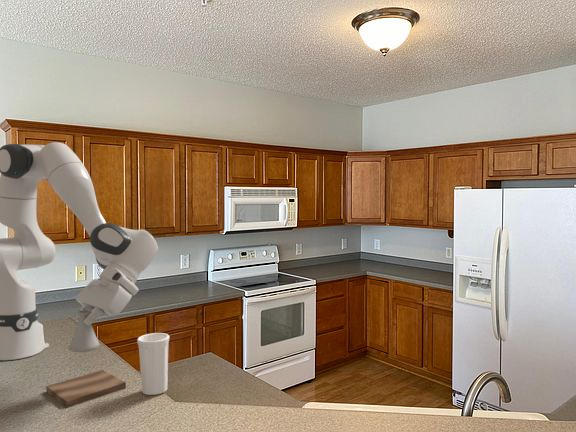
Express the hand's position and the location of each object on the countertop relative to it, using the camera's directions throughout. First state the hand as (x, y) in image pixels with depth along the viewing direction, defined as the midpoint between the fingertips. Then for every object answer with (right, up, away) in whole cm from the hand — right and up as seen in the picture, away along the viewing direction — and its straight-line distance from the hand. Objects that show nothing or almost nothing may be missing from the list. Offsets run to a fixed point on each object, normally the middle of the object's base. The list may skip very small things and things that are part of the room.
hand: (81, 322), depth 117 cm
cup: (+20, -18, -1) cm, 27 cm away
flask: (0, -7, +1) cm, 7 cm away
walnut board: (+1, -18, +1) cm, 18 cm away
